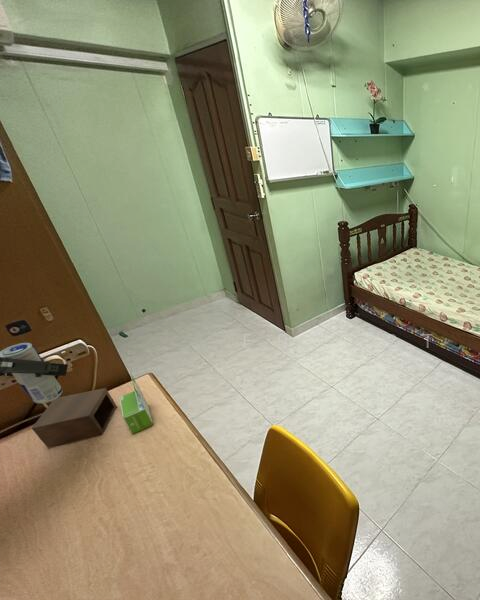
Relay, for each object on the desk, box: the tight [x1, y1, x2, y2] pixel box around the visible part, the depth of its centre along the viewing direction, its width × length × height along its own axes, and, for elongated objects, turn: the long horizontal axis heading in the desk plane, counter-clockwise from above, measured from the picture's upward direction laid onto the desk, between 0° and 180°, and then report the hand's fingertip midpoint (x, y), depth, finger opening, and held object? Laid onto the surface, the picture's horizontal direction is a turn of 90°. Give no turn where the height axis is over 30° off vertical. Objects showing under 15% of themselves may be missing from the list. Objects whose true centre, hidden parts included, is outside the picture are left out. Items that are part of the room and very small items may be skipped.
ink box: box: [118, 372, 154, 435], centre depth 90 cm, size 10×5×14 cm, turn 43°
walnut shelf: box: [31, 387, 118, 449], centre depth 89 cm, size 12×11×8 cm
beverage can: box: [0, 342, 64, 404], centre depth 72 cm, size 5×5×15 cm
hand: (52, 370), depth 77 cm, fingers closed on beverage can, 5 cm apart
